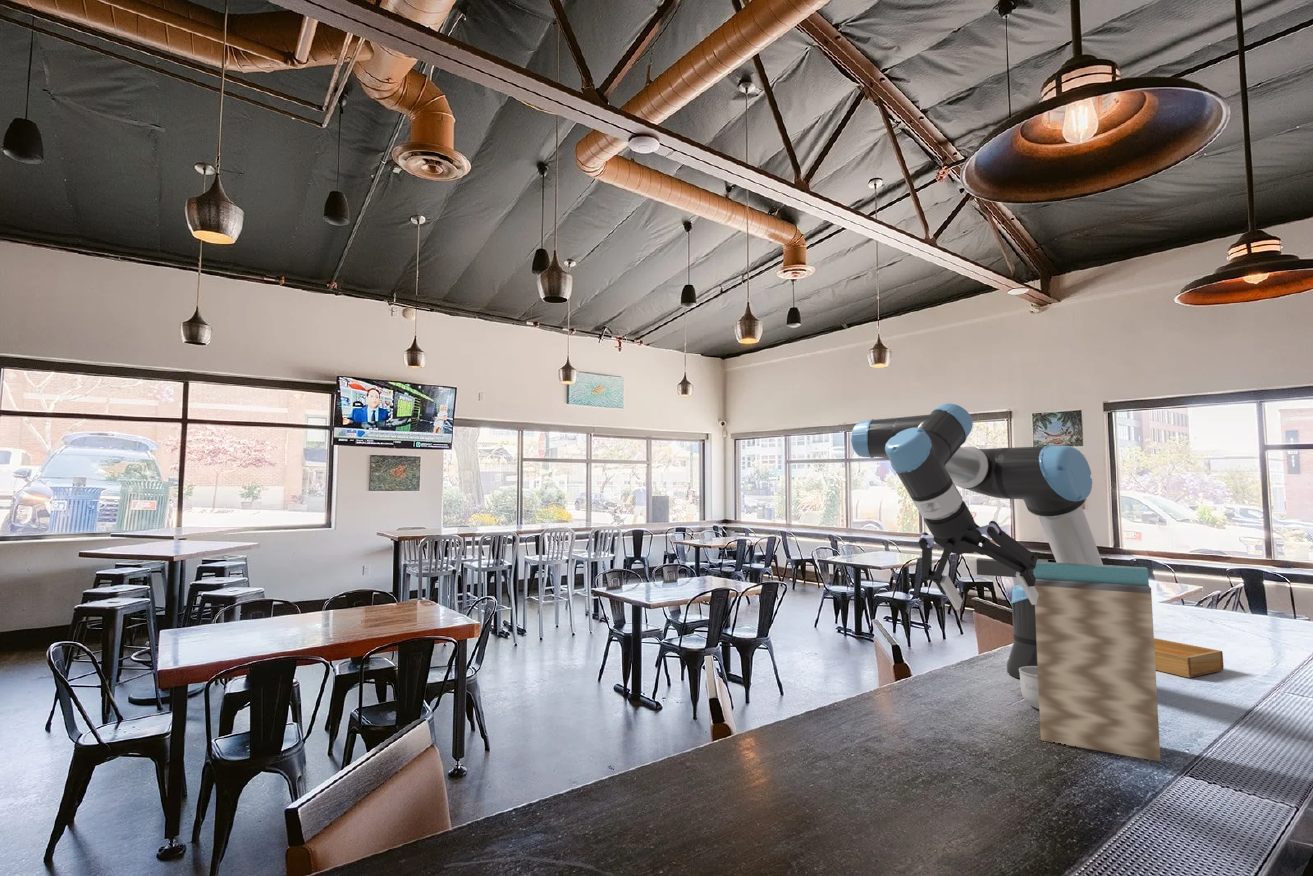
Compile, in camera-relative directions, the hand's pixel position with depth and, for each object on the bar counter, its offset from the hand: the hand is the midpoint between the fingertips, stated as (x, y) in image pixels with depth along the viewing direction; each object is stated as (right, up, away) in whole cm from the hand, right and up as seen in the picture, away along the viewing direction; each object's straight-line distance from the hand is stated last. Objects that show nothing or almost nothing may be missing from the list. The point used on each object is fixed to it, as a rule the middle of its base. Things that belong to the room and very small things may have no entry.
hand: (995, 602), depth 117 cm
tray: (+71, -31, +58) cm, 97 cm away
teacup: (+24, -28, +21) cm, 43 cm away
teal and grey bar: (+16, +3, +7) cm, 18 cm away
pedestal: (+20, -27, +3) cm, 34 cm away
